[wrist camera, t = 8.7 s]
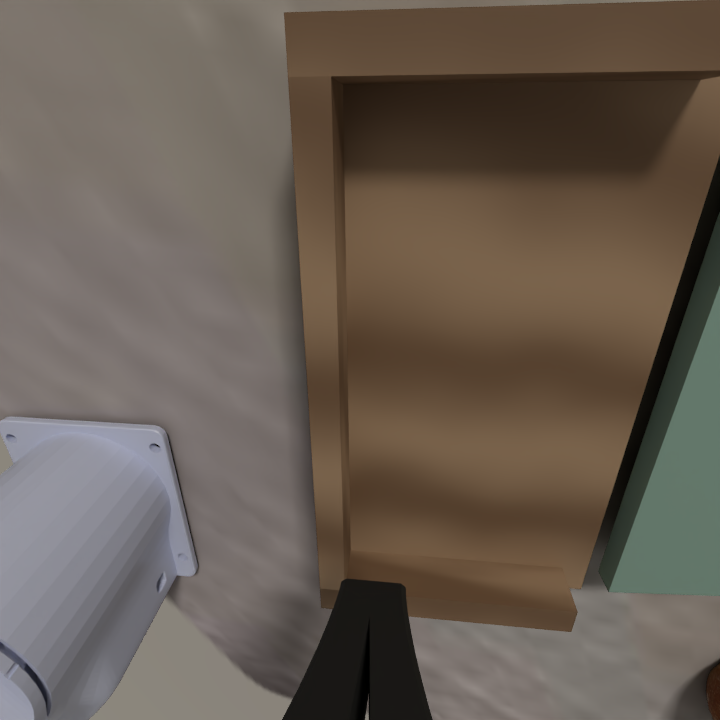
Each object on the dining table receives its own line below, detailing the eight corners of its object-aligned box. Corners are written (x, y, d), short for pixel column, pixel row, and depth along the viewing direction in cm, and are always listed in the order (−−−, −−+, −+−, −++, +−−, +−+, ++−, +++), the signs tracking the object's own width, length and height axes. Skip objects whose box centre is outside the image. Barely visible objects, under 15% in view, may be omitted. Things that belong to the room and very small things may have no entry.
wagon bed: (566, 551, 21) (597, 634, 18) (335, 532, 22) (321, 607, 19) (712, 36, 12) (833, -4, 9) (317, 44, 13) (284, 12, 10)
